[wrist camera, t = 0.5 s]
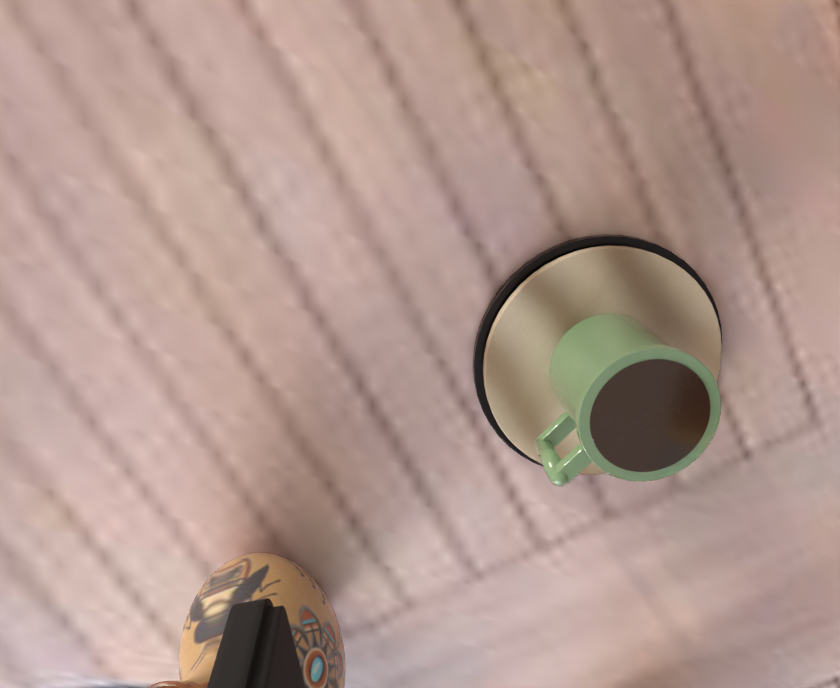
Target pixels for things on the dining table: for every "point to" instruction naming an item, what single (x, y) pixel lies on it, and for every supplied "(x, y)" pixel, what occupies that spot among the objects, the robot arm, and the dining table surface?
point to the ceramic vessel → (284, 587)
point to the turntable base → (529, 270)
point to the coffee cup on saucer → (606, 366)
